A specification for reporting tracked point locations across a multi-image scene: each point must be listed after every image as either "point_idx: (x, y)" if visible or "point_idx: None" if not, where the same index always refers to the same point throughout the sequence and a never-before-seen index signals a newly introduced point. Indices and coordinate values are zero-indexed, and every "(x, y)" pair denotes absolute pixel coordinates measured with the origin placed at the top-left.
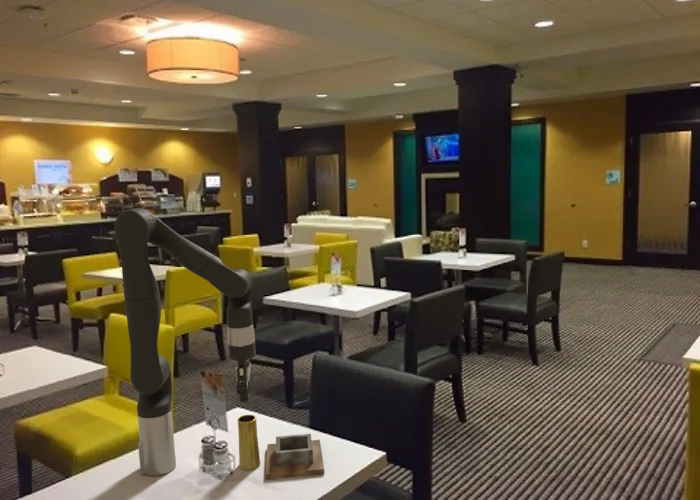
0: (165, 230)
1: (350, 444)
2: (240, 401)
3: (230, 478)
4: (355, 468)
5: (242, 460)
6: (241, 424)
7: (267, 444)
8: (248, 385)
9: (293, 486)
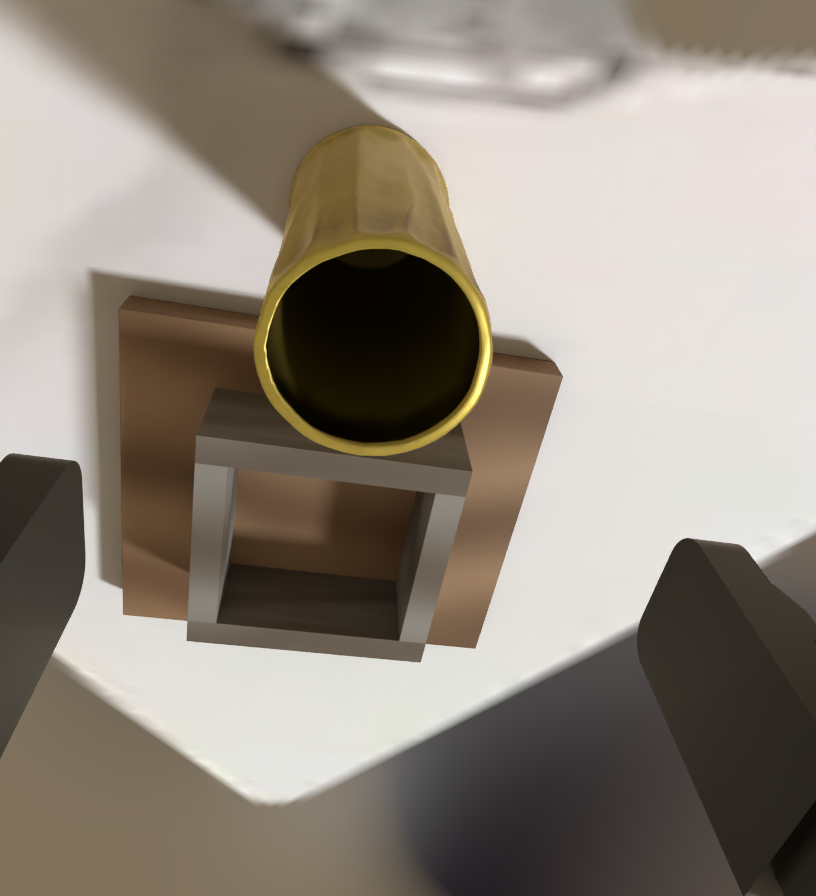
0: None
1: (406, 735)
2: (8, 456)
3: (204, 27)
4: (159, 712)
5: (317, 163)
6: (286, 266)
7: (559, 376)
8: (672, 710)
9: (18, 435)
